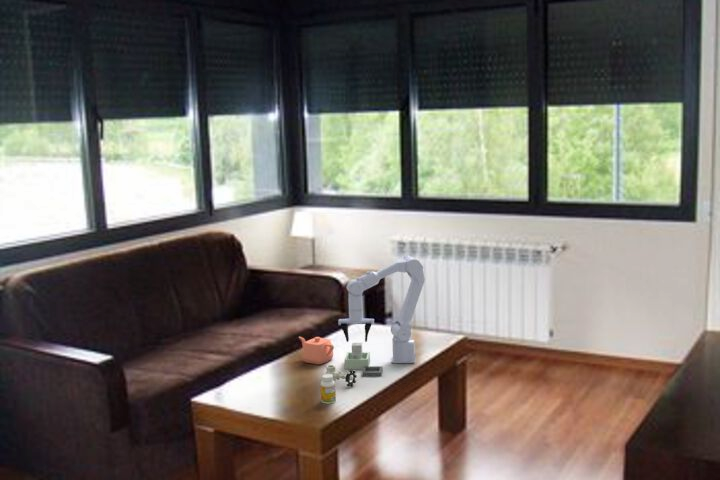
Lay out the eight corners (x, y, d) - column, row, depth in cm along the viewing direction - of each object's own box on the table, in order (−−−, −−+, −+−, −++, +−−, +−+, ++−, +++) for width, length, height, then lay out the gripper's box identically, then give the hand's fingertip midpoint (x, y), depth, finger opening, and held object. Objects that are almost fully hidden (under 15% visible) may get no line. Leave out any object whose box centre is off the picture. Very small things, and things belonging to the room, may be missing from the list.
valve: (322, 384, 304) (347, 389, 297) (321, 367, 303) (346, 372, 296) (332, 379, 309) (357, 384, 302) (331, 363, 308) (356, 367, 301)
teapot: (326, 367, 323) (325, 343, 321) (291, 361, 332) (290, 337, 331) (341, 360, 332) (340, 336, 331) (307, 354, 342) (306, 331, 340)
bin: (370, 361, 329) (369, 352, 328) (368, 368, 320) (367, 359, 319) (347, 361, 330) (346, 352, 329) (344, 368, 320) (344, 359, 320)
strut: (363, 361, 327) (362, 342, 325) (362, 364, 322) (361, 345, 321) (352, 361, 327) (352, 342, 326) (351, 364, 323) (351, 345, 321)
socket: (382, 369, 318) (382, 366, 317) (381, 376, 310) (381, 372, 310) (364, 369, 318) (364, 366, 318) (362, 376, 311) (362, 372, 311)
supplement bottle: (320, 399, 288) (319, 373, 286) (335, 398, 288) (334, 372, 286) (321, 404, 282) (320, 378, 281) (336, 403, 283) (335, 377, 281)
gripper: (337, 311, 318) (338, 344, 320) (372, 311, 316) (373, 343, 319) (339, 307, 325) (340, 339, 327) (373, 307, 323) (374, 338, 325)
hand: (356, 341), depth 323 cm, fingers open, 7 cm apart
